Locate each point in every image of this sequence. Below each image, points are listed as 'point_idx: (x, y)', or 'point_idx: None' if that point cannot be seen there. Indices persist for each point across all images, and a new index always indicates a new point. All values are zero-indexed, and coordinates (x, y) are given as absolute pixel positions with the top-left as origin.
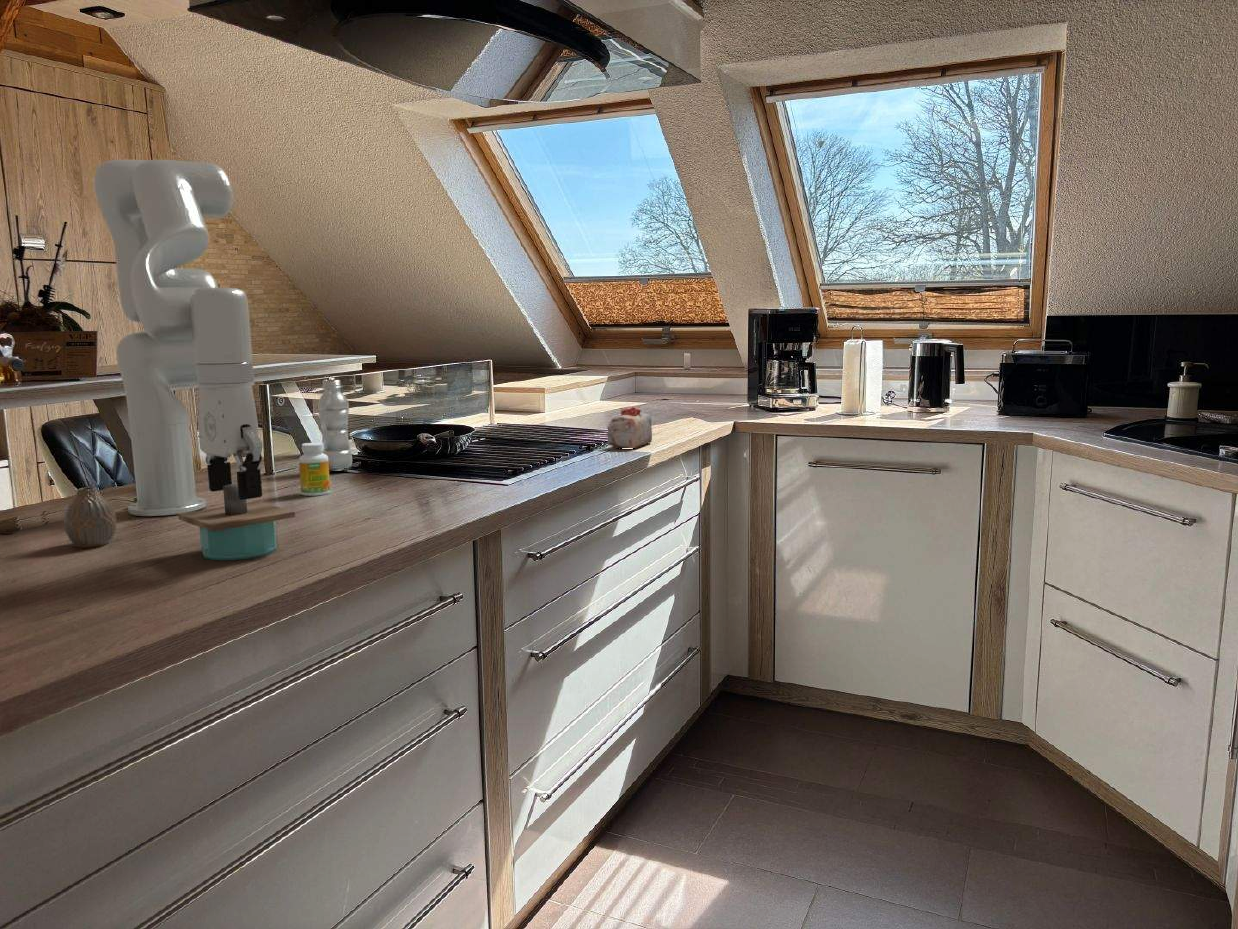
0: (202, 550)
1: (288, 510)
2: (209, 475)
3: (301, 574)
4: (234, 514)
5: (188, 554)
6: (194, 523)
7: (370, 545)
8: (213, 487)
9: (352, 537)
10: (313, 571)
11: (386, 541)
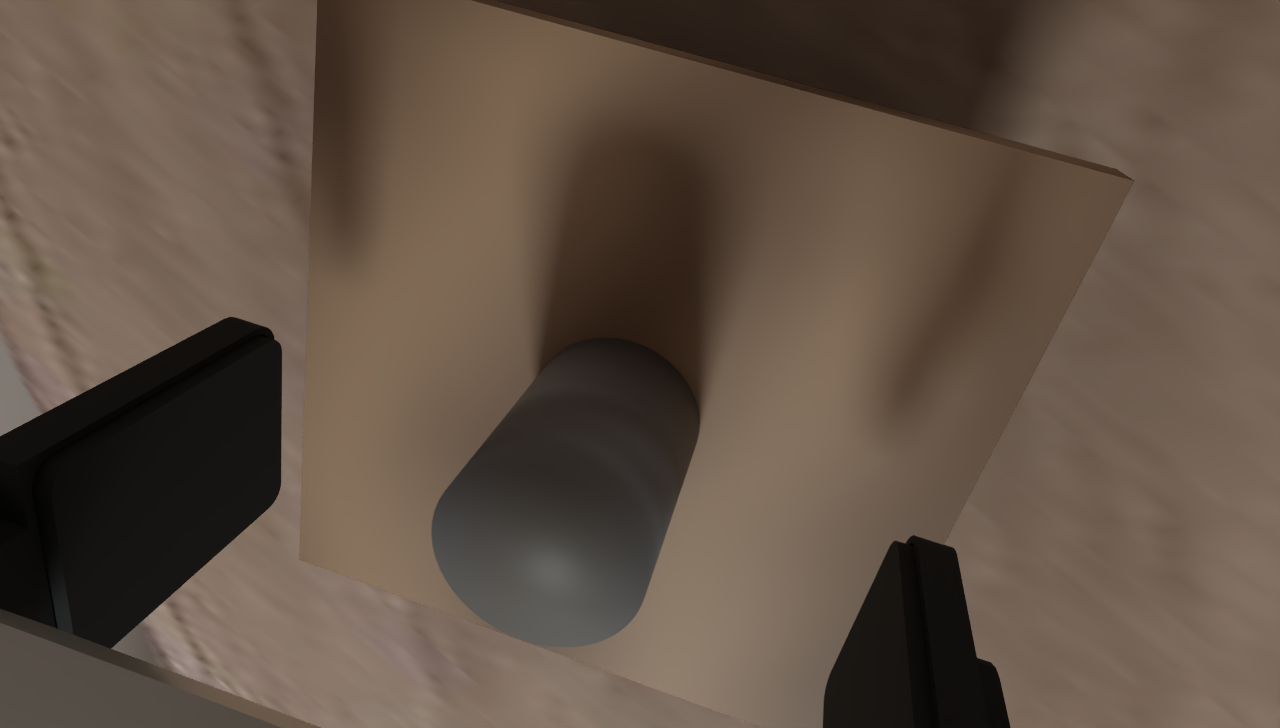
0: None
1: (365, 577)
2: (934, 665)
3: (17, 105)
4: (553, 354)
5: (950, 112)
6: (721, 63)
7: (253, 592)
8: (894, 570)
9: (431, 677)
10: (30, 173)
11: (262, 655)
